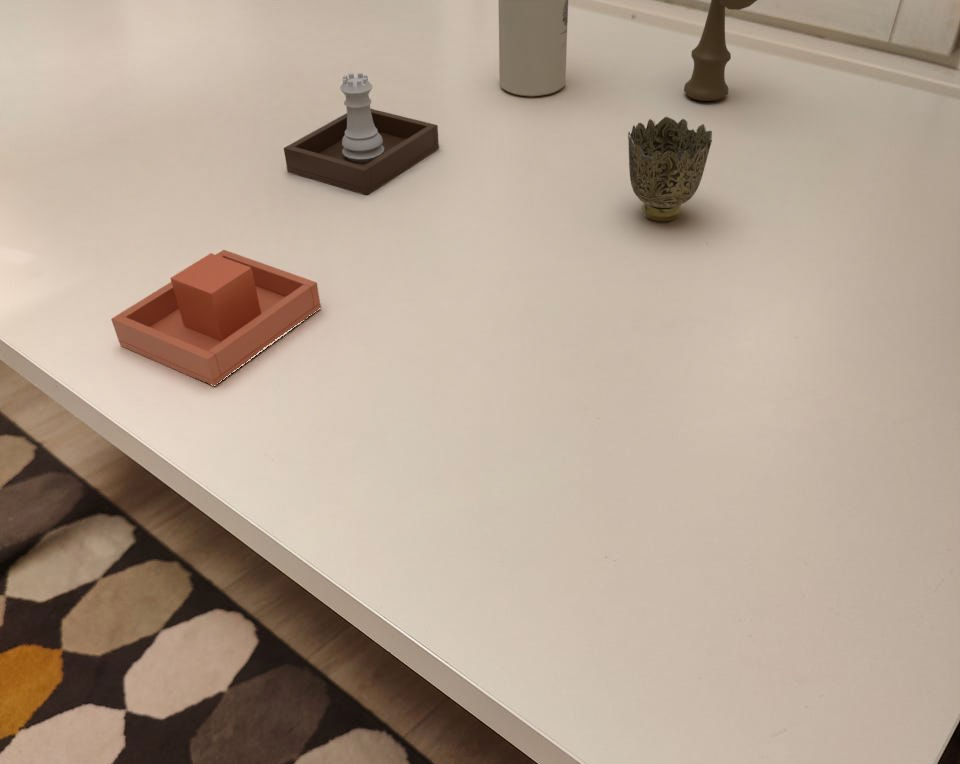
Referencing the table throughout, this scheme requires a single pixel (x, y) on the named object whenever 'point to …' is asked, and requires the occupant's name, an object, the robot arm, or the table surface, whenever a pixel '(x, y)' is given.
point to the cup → (666, 165)
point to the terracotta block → (216, 296)
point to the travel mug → (532, 46)
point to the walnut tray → (329, 165)
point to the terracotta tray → (170, 343)
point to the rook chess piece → (359, 121)
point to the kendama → (712, 54)
